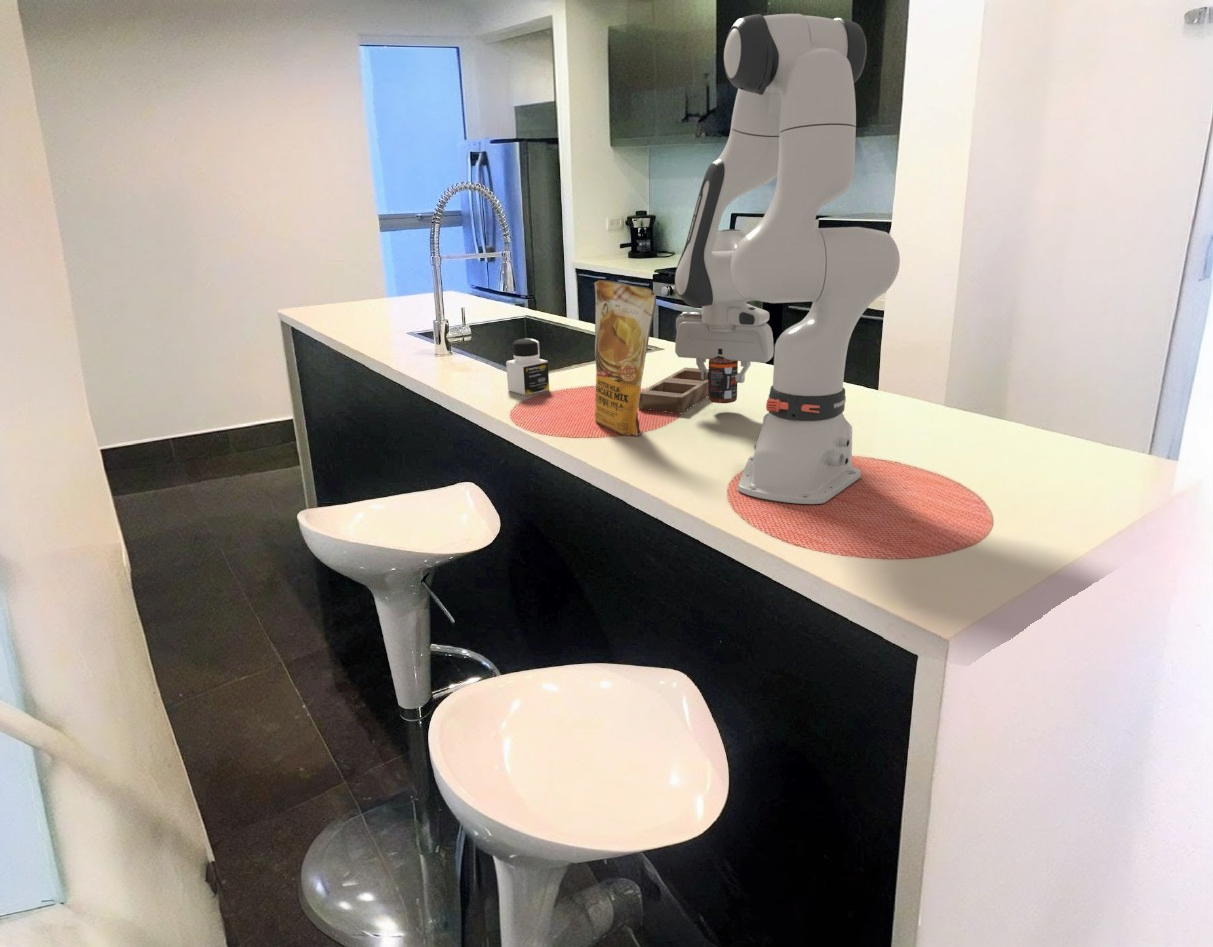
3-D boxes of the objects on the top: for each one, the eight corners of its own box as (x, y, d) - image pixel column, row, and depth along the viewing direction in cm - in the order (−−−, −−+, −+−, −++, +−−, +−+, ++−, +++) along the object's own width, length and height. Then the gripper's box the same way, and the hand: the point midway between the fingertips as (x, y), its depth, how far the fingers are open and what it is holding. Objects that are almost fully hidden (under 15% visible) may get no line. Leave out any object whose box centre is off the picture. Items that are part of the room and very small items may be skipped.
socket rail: (681, 413, 173) (681, 397, 172) (638, 409, 178) (638, 393, 177) (724, 385, 195) (725, 370, 194) (685, 381, 199) (685, 367, 198)
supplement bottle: (736, 404, 169) (737, 349, 166) (707, 404, 171) (707, 349, 167) (737, 397, 175) (738, 344, 171) (709, 397, 176) (709, 344, 173)
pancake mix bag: (611, 412, 176) (608, 277, 166) (660, 434, 160) (659, 287, 151) (583, 417, 173) (578, 280, 163) (630, 440, 157) (627, 290, 148)
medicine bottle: (525, 396, 191) (522, 344, 187) (507, 390, 196) (503, 340, 192) (550, 390, 195) (547, 339, 191) (531, 385, 200) (528, 335, 196)
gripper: (669, 313, 169) (670, 380, 173) (767, 317, 160) (765, 387, 164) (681, 309, 174) (681, 374, 179) (777, 312, 165) (774, 381, 170)
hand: (722, 381), depth 171 cm, fingers closed on supplement bottle, 6 cm apart
